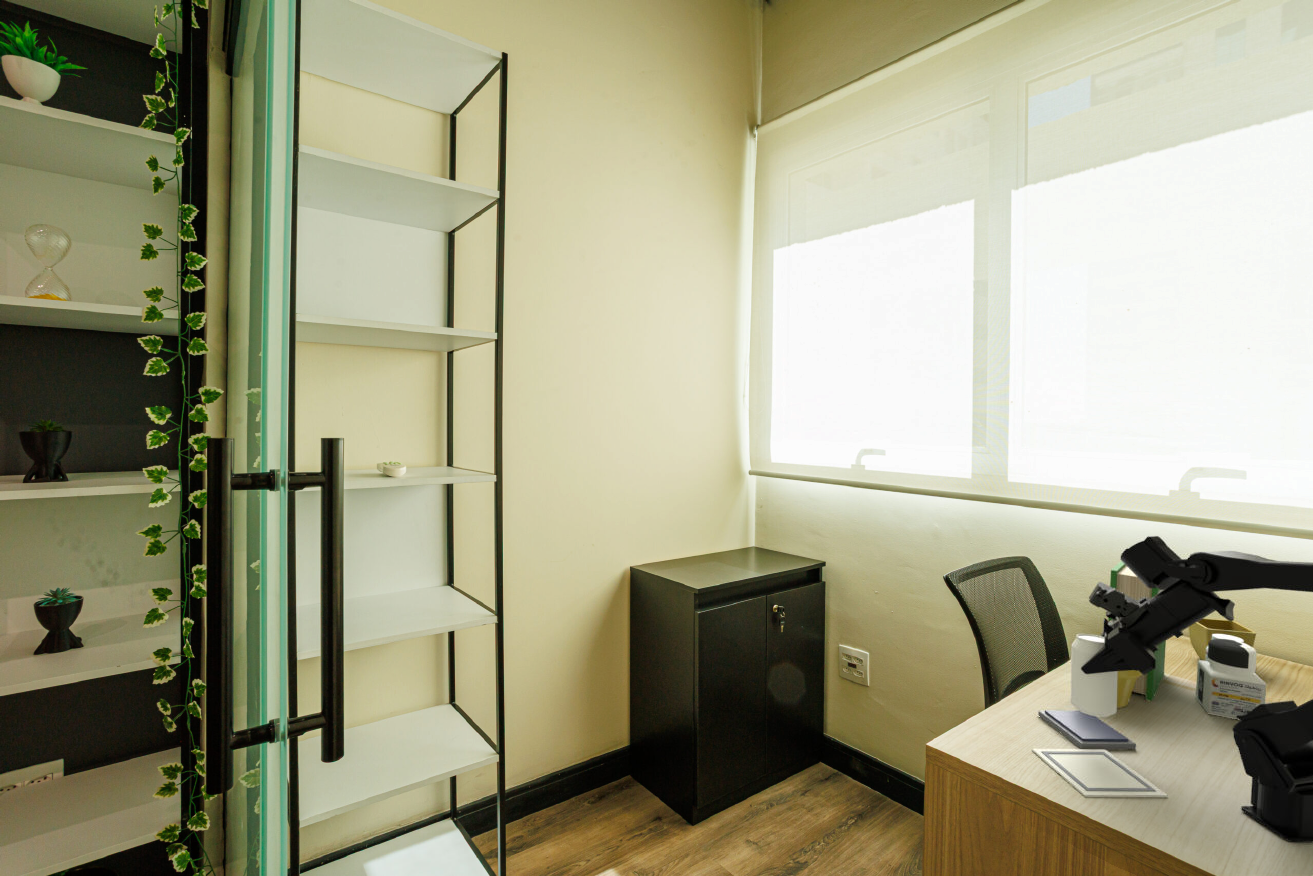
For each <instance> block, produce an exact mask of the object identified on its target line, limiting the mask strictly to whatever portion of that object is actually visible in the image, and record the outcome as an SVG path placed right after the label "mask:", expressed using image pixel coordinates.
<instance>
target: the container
mask: <svg viewBox="0 0 1313 876" xmlns="http://www.w3.org/2000/svg"><path fill="white" fill-rule="evenodd" d="M1256 668H1257V650H1256V649H1255V648H1254V646H1253V647H1251V646H1249V645H1247V644H1245V643H1242V642H1238V641H1234V640H1229V639H1213V640H1210V641H1209V643H1208V660H1207V661H1203V660H1202V659H1201V660H1200V659H1199V660H1198V661H1197V672H1196V686H1195V687H1196V688H1195V689H1196V691H1195V698H1196V700H1197V701H1198V702H1199V704H1200V705H1201V706H1202V708H1203V709H1204V710H1205V712H1206V713H1207V714H1208V713H1209V714H1212V715H1211V716H1214V715H1218V716H1217V717H1219V716H1223V717H1222V718H1224V717H1227V718H1226V719H1230V718H1233V719H1232V720H1235V719H1238V718H1237V717H1236V716H1237V715H1246V714H1248V713H1250V712H1251V711H1252V710H1253V709H1254V708H1255V707H1257V706H1258V705H1260V704H1265V703H1266V694H1267V693H1266V692H1267V683H1266V682H1265V681H1264V680H1263V679H1262V678H1261V677H1259V675H1258V674H1257V673H1255V672H1256ZM1209 714H1208V715H1209ZM1238 721H1240V719H1239V720H1238Z"/></svg>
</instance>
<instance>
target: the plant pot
mask: <svg viewBox="0 0 1313 876" xmlns="http://www.w3.org/2000/svg"><path fill="white" fill-rule="evenodd" d="M1141 675H1142V673H1141V672H1139V671H1135V670H1128V671H1117V709H1120V708H1126V707H1127V706H1128V704H1129V701H1130V698H1131V696H1132V692H1133V691H1132V690H1133V687H1134V685H1135V682H1136V679H1137V678H1138V677H1140V676H1141Z"/></svg>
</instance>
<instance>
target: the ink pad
mask: <svg viewBox="0 0 1313 876" xmlns="http://www.w3.org/2000/svg"><path fill="white" fill-rule="evenodd" d="M1038 715H1039V716H1040V717H1041V718H1040V717H1039V716H1038ZM1038 715H1037V716H1038V717H1039V718H1040V719H1042V720H1043V719H1044V720H1045V721H1046V723H1047V724H1048V723H1049V724H1050V726H1051V727H1052V728H1053V727H1054V728H1055V730H1056V729H1057V730H1058V731H1059V732H1058V731H1057V730H1056V731H1057V732H1058V733H1060V732H1061V733H1062V734H1063V735H1062V734H1061V733H1060V734H1061V735H1062V736H1064V737H1065V736H1066V737H1065V738H1066V739H1068V740H1069V741H1070V742H1071V743H1072V744H1073V745H1075V746H1076V747H1078V749H1105V750H1106V749H1116V750H1118V749H1132V750H1131V751H1135V750H1134V749H1137V744H1136V743H1135V742H1134V741H1133V740H1131V739H1130V738H1128V737H1127V736H1126V735H1124V734H1122V733H1120V732H1119V731H1118V730H1117V729H1115V728H1114V727H1113V726H1110V725H1109V724H1107V722H1105V721H1103V720H1102V719H1100V717H1096V716H1092V715H1088V714H1085V713H1083V712H1081V711H1079V710H1059V709H1057V710H1055V709H1053V710H1051V709H1050V710H1049V709H1047V710H1046V709H1045V710H1038ZM1044 720H1043V721H1044ZM1045 721H1044V722H1045ZM1049 724H1048V725H1049ZM1116 750H1115V751H1116ZM1118 751H1119V750H1118Z"/></svg>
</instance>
